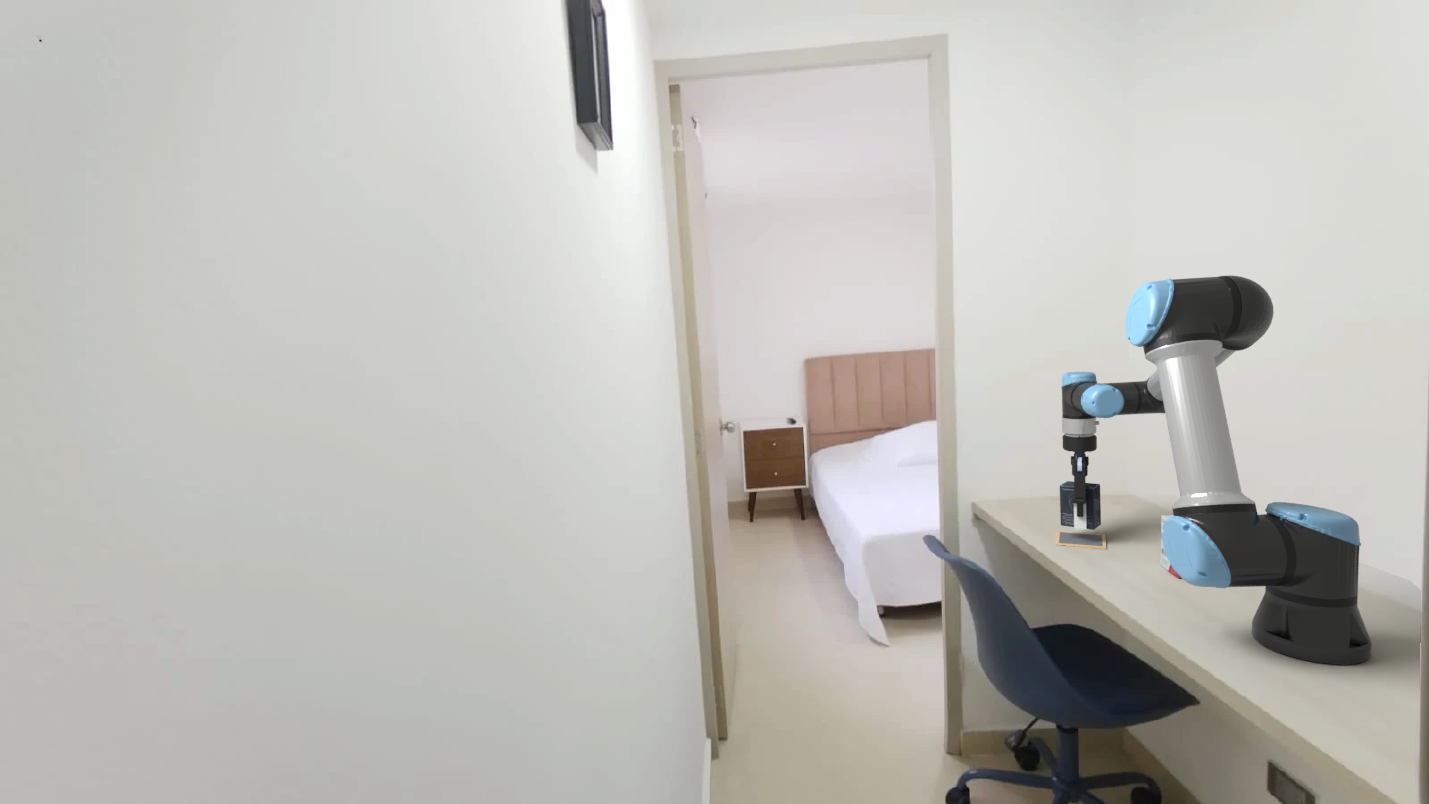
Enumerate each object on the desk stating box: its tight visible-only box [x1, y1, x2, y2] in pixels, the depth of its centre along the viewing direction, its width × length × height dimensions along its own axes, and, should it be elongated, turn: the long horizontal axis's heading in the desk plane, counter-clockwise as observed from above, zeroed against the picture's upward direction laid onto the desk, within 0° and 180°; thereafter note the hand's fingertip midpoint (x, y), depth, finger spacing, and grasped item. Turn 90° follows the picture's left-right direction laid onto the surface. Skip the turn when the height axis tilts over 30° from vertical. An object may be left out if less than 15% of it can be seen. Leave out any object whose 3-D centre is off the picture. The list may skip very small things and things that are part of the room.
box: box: [1059, 480, 1102, 531], centre depth 174 cm, size 8×6×11 cm
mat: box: [1055, 530, 1107, 550], centre depth 175 cm, size 11×11×1 cm
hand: (1080, 524), depth 175 cm, fingers closed on box, 7 cm apart
